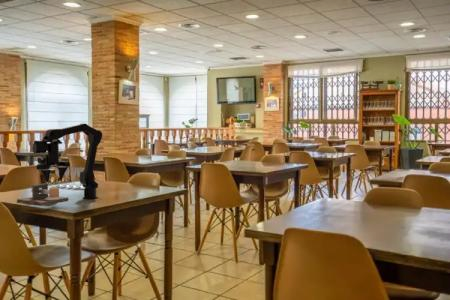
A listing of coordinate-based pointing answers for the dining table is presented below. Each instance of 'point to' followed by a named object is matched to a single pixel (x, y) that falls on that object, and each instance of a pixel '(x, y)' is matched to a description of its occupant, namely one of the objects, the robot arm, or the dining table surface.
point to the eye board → (42, 200)
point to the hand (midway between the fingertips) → (54, 181)
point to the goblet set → (73, 173)
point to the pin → (50, 192)
